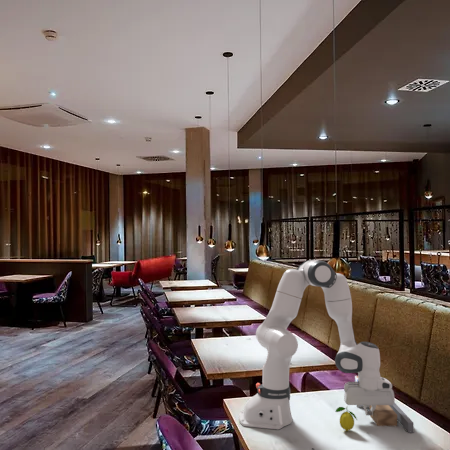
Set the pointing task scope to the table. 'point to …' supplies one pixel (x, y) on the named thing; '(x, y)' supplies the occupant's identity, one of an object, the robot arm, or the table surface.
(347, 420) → the lemon
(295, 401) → the table surface
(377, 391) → the robot arm
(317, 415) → the table surface
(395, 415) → the walnut block
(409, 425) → the board
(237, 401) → the table surface
